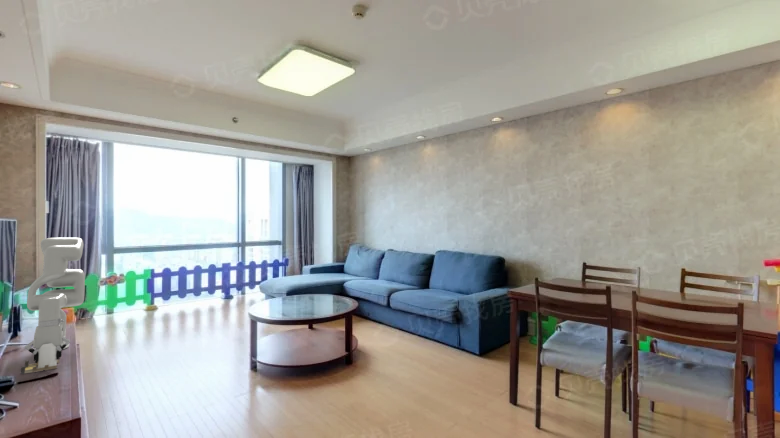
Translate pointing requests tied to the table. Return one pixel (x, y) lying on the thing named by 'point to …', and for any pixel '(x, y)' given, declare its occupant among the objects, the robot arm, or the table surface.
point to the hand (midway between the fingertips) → (47, 360)
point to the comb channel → (36, 367)
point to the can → (47, 355)
